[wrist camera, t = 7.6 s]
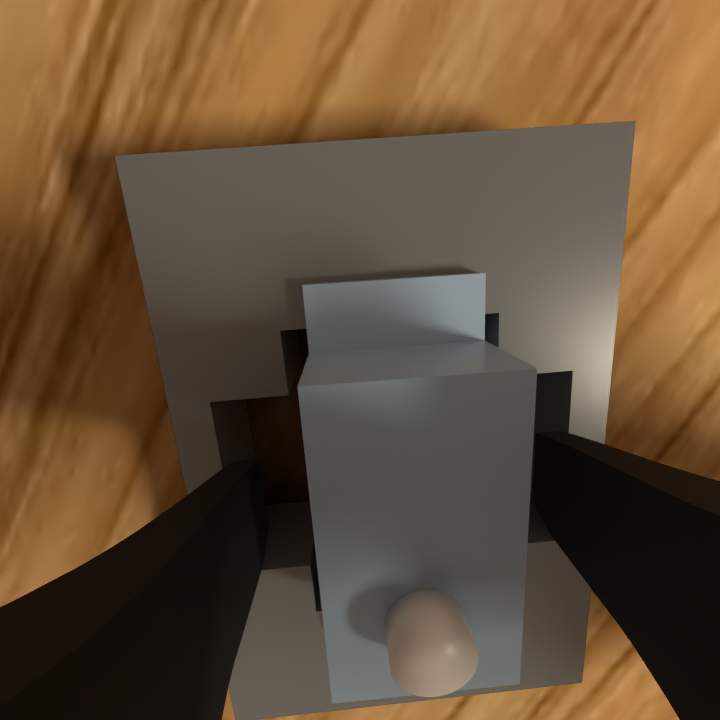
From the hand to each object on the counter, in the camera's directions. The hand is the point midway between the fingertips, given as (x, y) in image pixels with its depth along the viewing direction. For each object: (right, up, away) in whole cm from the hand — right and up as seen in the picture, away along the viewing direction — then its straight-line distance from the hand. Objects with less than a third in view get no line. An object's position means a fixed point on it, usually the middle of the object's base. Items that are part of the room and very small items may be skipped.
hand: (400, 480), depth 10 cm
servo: (0, +1, +3) cm, 3 cm away
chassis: (0, +1, +3) cm, 3 cm away
